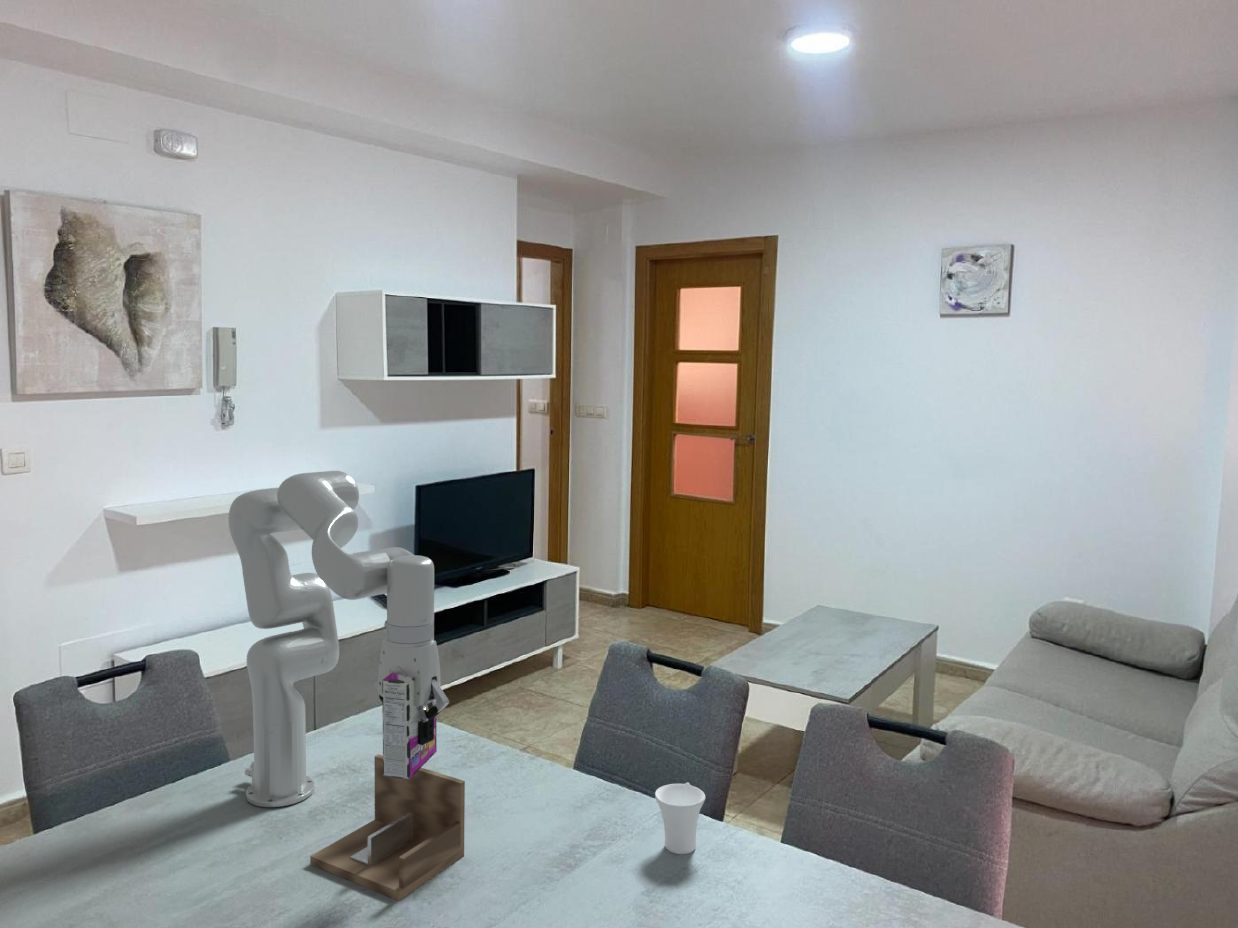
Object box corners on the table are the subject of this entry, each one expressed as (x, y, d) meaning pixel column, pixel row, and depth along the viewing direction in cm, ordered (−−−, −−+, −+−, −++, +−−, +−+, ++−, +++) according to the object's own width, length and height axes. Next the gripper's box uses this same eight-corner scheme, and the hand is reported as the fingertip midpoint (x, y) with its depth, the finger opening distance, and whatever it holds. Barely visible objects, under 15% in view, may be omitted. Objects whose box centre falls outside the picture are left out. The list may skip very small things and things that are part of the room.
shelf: (310, 864, 156) (309, 787, 155) (378, 824, 170) (378, 754, 169) (399, 900, 146) (399, 819, 145) (464, 855, 160) (464, 780, 159)
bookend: (350, 858, 156) (350, 830, 155) (392, 833, 164) (392, 806, 164) (371, 866, 153) (371, 837, 153) (412, 840, 162) (412, 813, 161)
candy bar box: (410, 749, 160) (411, 656, 158) (437, 752, 159) (438, 659, 157) (380, 776, 149) (380, 678, 147) (409, 780, 148) (410, 681, 146)
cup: (710, 839, 168) (712, 787, 167) (692, 864, 159) (694, 808, 158) (665, 828, 171) (667, 776, 170) (645, 851, 163) (647, 797, 162)
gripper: (355, 628, 153) (355, 733, 154) (435, 646, 144) (435, 757, 146) (387, 618, 159) (387, 719, 161) (466, 635, 151) (465, 741, 152)
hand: (410, 736), depth 153 cm, fingers closed on candy bar box, 6 cm apart
